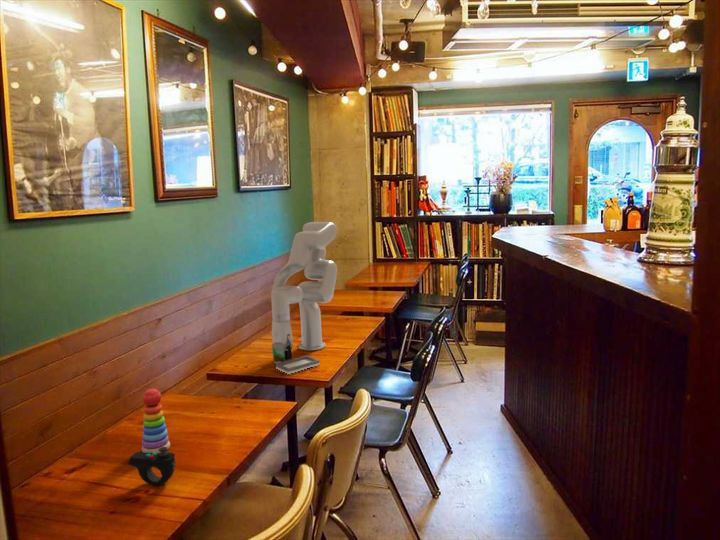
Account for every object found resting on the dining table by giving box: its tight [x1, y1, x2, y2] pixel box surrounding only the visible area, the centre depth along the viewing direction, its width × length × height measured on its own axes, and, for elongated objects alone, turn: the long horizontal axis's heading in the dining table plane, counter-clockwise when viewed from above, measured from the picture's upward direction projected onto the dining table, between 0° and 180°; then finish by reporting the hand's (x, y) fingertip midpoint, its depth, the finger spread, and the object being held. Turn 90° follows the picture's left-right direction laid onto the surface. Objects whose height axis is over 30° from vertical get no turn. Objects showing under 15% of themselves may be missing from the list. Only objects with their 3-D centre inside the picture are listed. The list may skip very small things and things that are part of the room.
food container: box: [271, 341, 292, 366], centre depth 239 cm, size 12×6×10 cm, turn 160°
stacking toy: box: [141, 388, 171, 453], centre depth 162 cm, size 8×8×19 cm
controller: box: [128, 447, 177, 486], centre depth 144 cm, size 4×12×10 cm, turn 80°
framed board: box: [275, 355, 321, 375], centre depth 232 cm, size 10×16×2 cm, turn 129°
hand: (283, 356), depth 240 cm, fingers closed on food container, 6 cm apart
